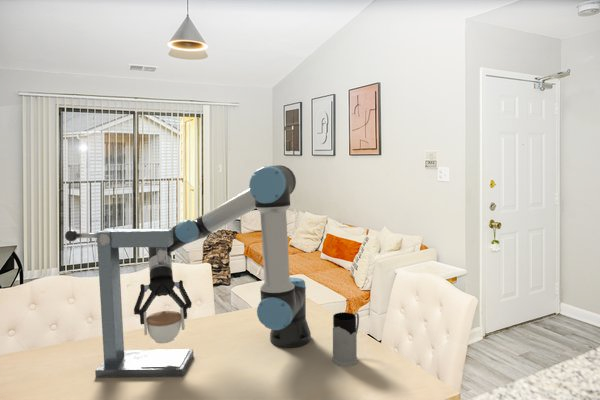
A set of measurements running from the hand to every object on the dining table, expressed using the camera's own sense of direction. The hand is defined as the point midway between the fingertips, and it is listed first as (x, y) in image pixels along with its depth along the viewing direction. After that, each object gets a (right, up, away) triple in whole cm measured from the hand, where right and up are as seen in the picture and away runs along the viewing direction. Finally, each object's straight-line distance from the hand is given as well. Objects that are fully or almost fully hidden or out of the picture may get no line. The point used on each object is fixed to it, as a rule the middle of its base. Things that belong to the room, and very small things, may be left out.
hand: (164, 330), depth 137 cm
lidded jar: (-1, -4, +3) cm, 5 cm away
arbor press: (-12, -13, +4) cm, 18 cm away
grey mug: (+59, -12, +9) cm, 61 cm away
